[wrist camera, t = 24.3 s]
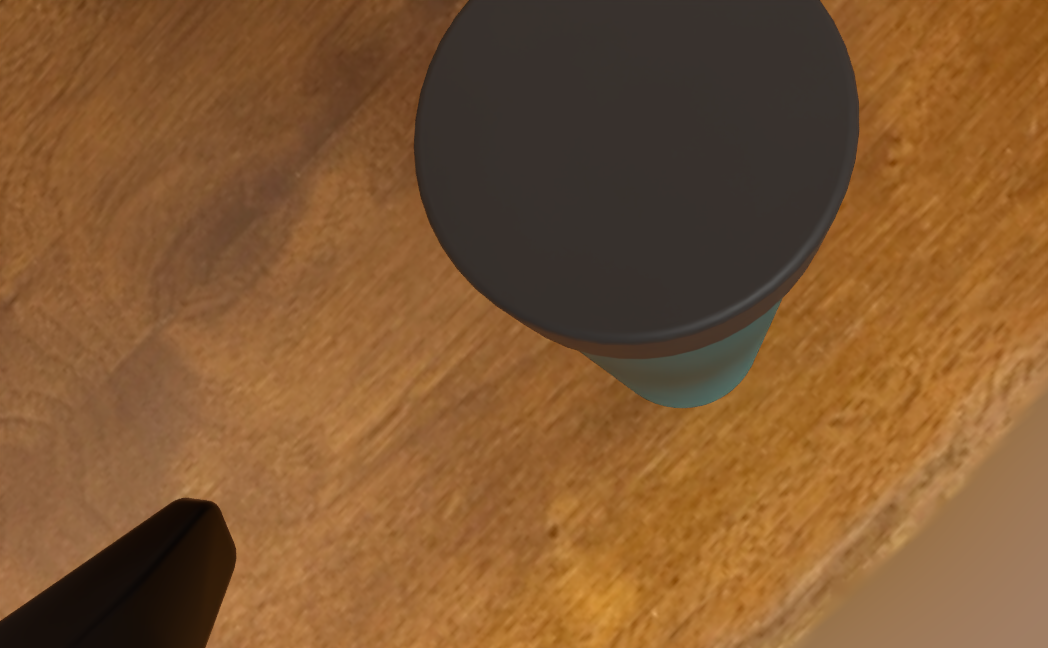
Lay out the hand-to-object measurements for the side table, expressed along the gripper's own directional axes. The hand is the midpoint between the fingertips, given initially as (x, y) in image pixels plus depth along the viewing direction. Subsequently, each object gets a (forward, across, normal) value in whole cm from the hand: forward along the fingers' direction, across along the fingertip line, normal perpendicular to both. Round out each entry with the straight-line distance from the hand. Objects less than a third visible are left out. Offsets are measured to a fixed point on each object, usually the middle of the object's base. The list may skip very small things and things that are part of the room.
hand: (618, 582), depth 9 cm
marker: (+10, 0, +5) cm, 11 cm away
